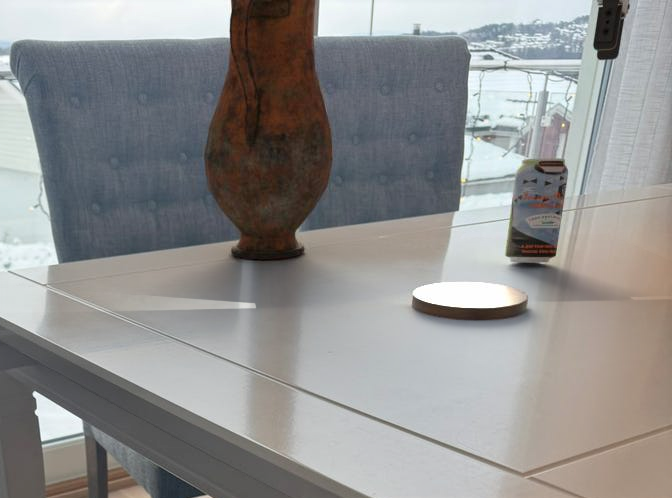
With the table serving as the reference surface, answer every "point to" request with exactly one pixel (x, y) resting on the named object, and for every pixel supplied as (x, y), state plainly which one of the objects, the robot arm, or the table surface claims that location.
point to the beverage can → (536, 210)
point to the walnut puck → (469, 301)
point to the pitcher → (269, 128)
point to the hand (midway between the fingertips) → (605, 54)
